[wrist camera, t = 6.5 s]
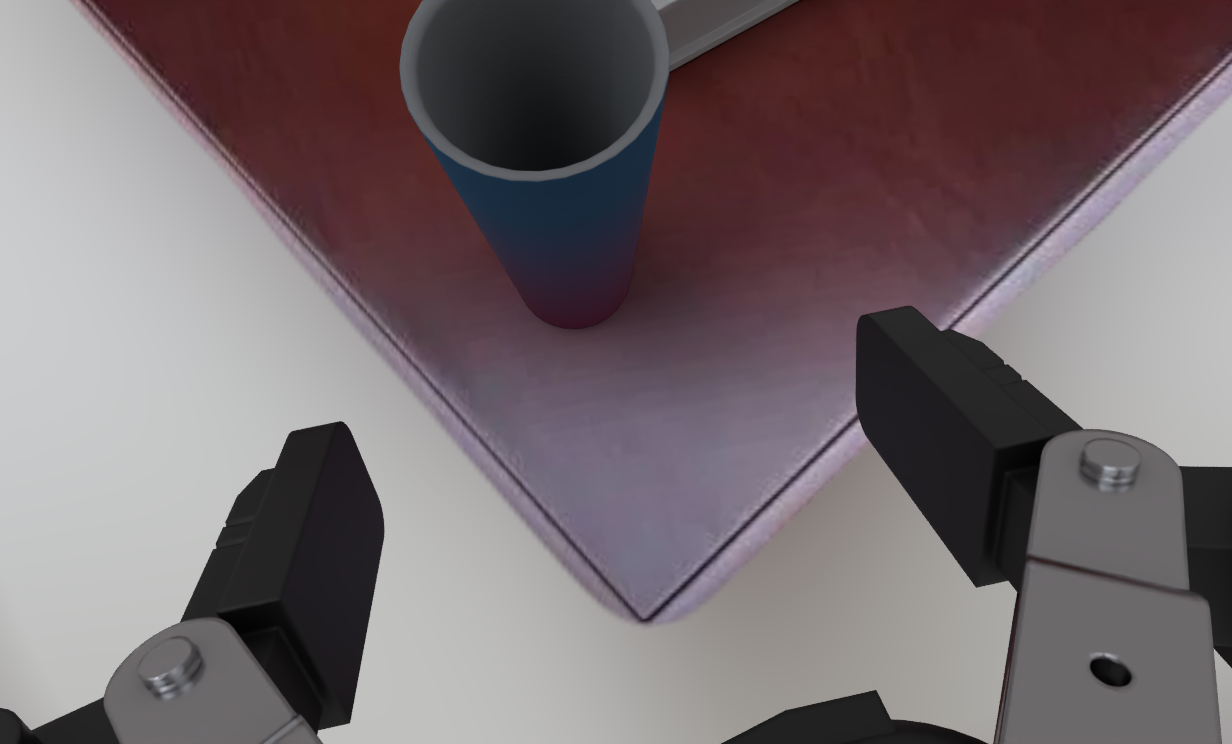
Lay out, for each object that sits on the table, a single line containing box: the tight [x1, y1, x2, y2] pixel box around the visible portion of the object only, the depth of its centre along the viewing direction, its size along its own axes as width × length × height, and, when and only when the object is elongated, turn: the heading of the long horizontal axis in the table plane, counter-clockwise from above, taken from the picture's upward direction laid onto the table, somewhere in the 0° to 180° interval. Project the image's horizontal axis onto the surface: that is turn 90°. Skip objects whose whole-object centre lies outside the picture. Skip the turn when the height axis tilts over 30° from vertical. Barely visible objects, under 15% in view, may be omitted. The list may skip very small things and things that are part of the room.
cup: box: [399, 0, 670, 329], centre depth 21 cm, size 5×6×12 cm
